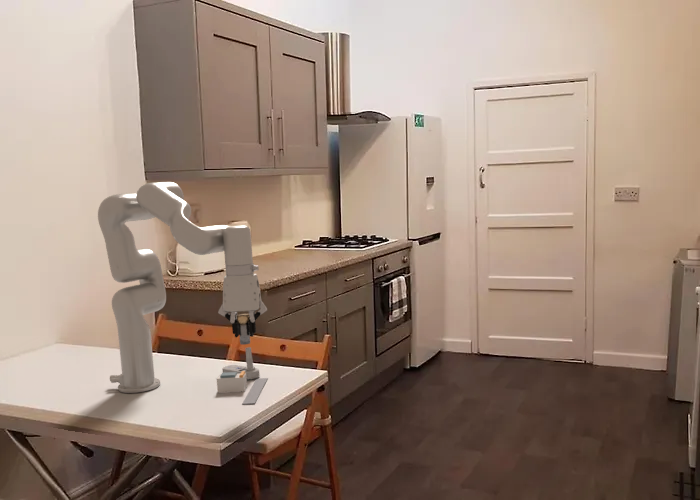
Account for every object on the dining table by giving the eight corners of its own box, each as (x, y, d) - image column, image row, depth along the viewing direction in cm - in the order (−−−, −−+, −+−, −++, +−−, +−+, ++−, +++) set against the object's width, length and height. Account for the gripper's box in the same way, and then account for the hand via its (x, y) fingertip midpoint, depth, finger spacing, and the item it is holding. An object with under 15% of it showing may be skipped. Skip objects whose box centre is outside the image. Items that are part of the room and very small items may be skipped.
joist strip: (242, 404, 193) (242, 403, 193) (256, 379, 217) (256, 378, 217) (254, 404, 193) (254, 403, 193) (267, 378, 217) (267, 378, 217)
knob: (237, 345, 192) (235, 316, 191) (240, 342, 195) (237, 314, 195) (250, 344, 192) (248, 316, 191) (252, 341, 195) (250, 313, 194)
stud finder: (217, 393, 206) (216, 376, 205) (220, 388, 210) (219, 372, 210) (244, 392, 206) (243, 375, 205) (247, 387, 210) (245, 370, 210)
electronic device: (229, 343, 229) (260, 346, 219) (232, 372, 230) (263, 377, 220) (216, 346, 225) (247, 350, 215) (219, 376, 226) (250, 381, 216)
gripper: (271, 267, 195) (276, 331, 197) (213, 270, 195) (218, 334, 197) (267, 270, 187) (272, 337, 189) (206, 274, 188) (212, 340, 190)
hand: (244, 335), depth 193 cm, fingers closed on knob, 3 cm apart
